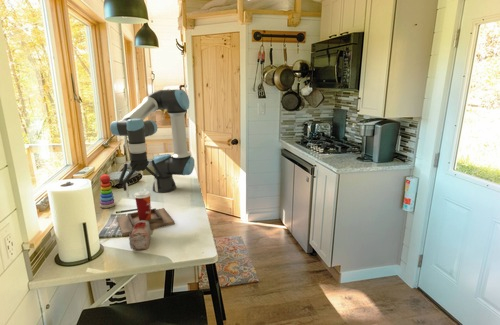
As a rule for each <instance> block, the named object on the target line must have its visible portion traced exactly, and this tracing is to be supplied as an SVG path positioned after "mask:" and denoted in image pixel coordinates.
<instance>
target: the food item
mask: <svg viewBox="0 0 500 325" xmlns="http://www.w3.org/2000/svg"><path fill="white" fill-rule="evenodd" d="M133 225H134V227H133V230H132V233H131V230H130V234H129V235H128V236H129V237H128V240H129V246H130V249H131V250H136V251H137V250H140V251H141V250H148V249H149V246H150V242H151V234H152V232H151V230H152V229H151V230H150V224H149V221H145V220H141V221H136V222H135V224H133Z"/></svg>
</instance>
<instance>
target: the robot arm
mask: <svg viewBox="0 0 500 325" xmlns="http://www.w3.org/2000/svg"><path fill="white" fill-rule="evenodd" d="M189 108H190V99H189V95H188V93H187V92H186V91H185V90H183V89H159V90H155V91H154V92H152V93H150V94H148V95H147V96H145V97H144V98H143V100H142V102H141V103H140V104H138V105H137V106H136V107H134V108H133V109H132V110H131V111H130V112H129V113H128V114H127V115H125V116H124V117H123V118H122V119H121V120H113V121H112V122H111V123H110V125H109V129H110V132H111V134H112V135H114V136H119V137H127V138H128V140H127V141H128V148H129V149H128V150H129V152H130V153H129V158H130V162H124V163H123V168H122V171H121V174H120V175H119V179H118V181H117V182H118V184H120V185H122V189H123V191H125V192H126V197H127V198H130V192H129V185H128V181H129V180H130V178H131V177H132V176H133V175H134V174H135V173H136V172H143V171H145V170H146V171H147V172H148V173H149V174H150V175H152V176H153V183H152V192H154V193H161V194H162V193H168V192H169V193H170V192H172V191H175V190H176V189H177V185H176V182H175V180H174V178H173V176H174V175H176V176H190V175H192V173H193V171H194V169H195V158H194V157H192V156H191V153H190V152H189V151H188V140H187V130H186V129H187V128H186V116H185V114H186V113H187V111H188V109H189ZM160 110H166V113H167V114H168V115H169V117H170V127H171V135H172V144H173V145H172V146H173V147H172V148H173V153H172V154H170V153H164V154H159V155H156V156H154V157H153V159H151V160H148V154H147V145H146V144H147V143H146V142H147V141H146V137H149V136H151V137H152V136H153V135H155V134H156V133H157V132H158V128H159V127H158V124H157V122H156V121H154V120H145V119H147V118H148V117H149V116H150V115H151V114H152V113H156V112H157V111H160ZM148 165H151V166H152V167H153V170H151V169H150V168H149V167H148ZM130 167H131V169H130V170H129V172H128V173H127V170H128V169H129V168H130ZM125 175H126V176H125Z"/></svg>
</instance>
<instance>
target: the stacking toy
mask: <svg viewBox="0 0 500 325" xmlns="http://www.w3.org/2000/svg"><path fill="white" fill-rule="evenodd" d="M110 180H111V177H110V175H109V174H102V175H101V176H100V178H99V181H100V182H101V183H100V199H99V200H100V201H99V207H100V208H101V209H109V208H113V207H114V206H115V205H116V201H115V199H114V197H115V196H114V193H113V189H112V186H111V182H110Z"/></svg>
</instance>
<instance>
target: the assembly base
mask: <svg viewBox="0 0 500 325" xmlns="http://www.w3.org/2000/svg"><path fill="white" fill-rule="evenodd" d="M116 221H117V224H118V227H119V229H121V230H120V232H121V235H122V237H125V236H129V234H130V230H131V233H132V230H133V227H134V225H133V224H135V222H136V221H139V216H138V211H136V212H135V211H134V212H130V213H127V215H123V216H119V217H116ZM145 221H149V224H150V230H155V229H159V228H164V227H167V226H172V225H173V226H174V225H175V224H176V223H175V220H174V219H173V218H172V216H171V215H170V214H169V212H168V211H167V210H166V209H165V208H164V207H163V208H156V207H155V208H151V219H150V220H145Z"/></svg>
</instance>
